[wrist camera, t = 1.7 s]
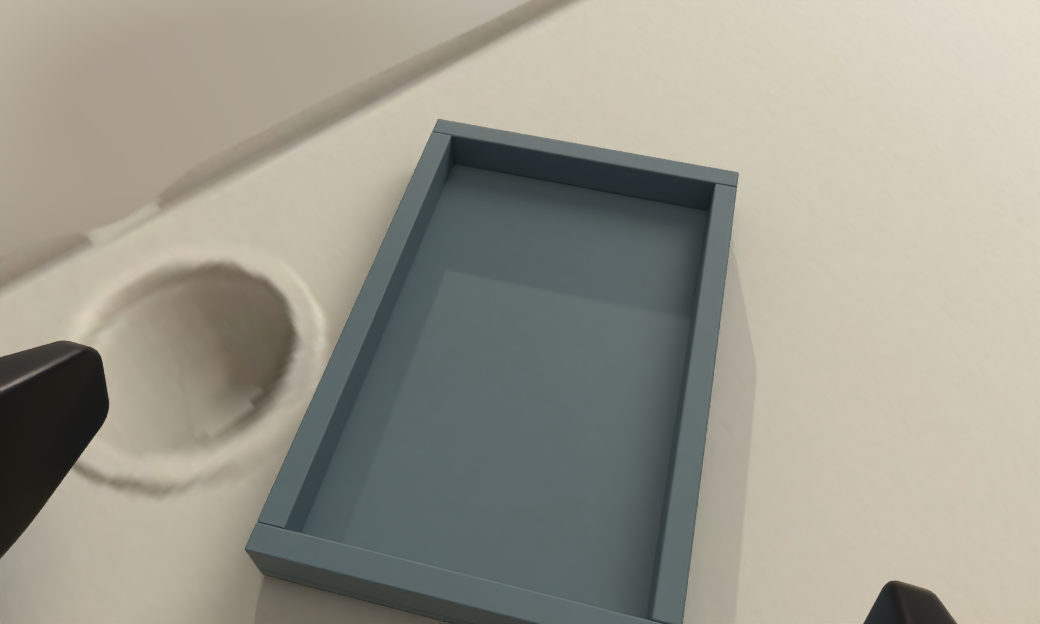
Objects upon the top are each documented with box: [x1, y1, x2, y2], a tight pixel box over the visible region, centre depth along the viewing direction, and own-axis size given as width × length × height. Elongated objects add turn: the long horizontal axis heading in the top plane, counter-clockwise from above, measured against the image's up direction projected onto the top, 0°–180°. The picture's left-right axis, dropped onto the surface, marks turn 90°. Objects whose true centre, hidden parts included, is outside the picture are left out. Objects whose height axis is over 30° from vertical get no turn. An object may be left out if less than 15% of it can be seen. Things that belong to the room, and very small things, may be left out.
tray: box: [245, 119, 739, 624], centre depth 27 cm, size 18×12×2 cm, turn 166°
